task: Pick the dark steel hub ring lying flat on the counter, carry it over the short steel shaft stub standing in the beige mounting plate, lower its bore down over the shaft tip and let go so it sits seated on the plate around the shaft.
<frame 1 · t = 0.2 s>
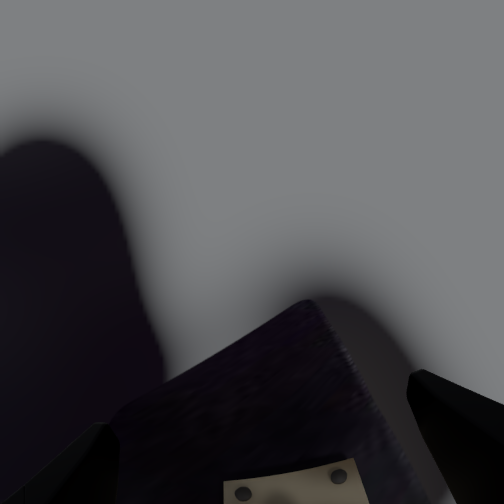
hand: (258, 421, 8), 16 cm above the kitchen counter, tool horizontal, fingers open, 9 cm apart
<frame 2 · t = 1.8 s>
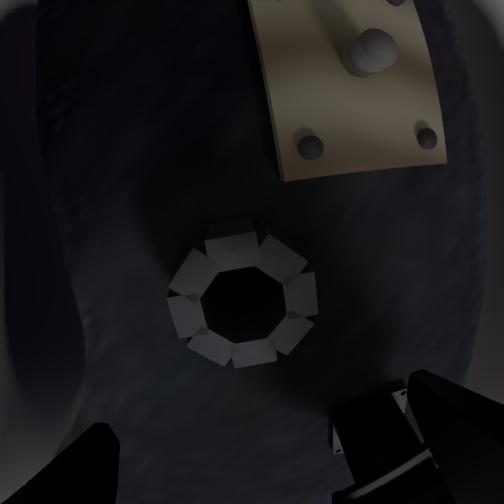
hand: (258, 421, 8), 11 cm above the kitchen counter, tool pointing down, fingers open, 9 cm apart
hub: (241, 278, 18), on the kitchen counter
beige mounting plate: (350, 66, 15), on the kitchen counter
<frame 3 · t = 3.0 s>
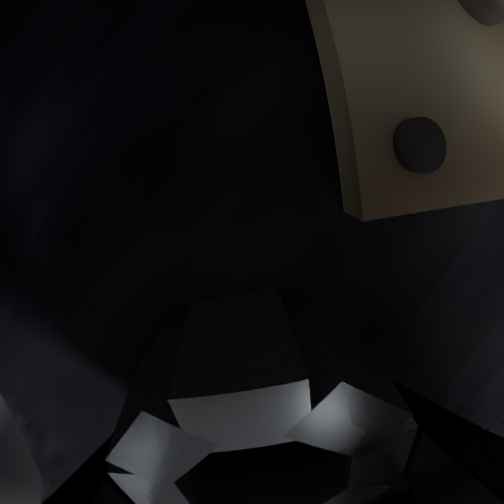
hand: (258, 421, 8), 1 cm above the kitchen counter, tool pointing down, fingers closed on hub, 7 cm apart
hub: (255, 392, 9), on the kitchen counter, touching gripper
beige mounting plate: (452, 7, 6), on the kitchen counter
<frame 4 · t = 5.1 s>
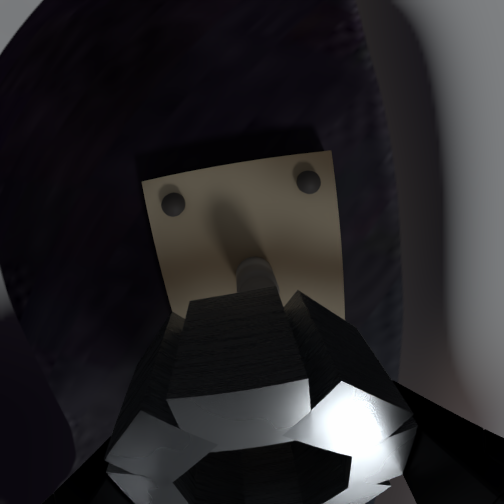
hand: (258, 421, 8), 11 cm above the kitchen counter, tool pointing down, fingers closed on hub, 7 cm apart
hub: (254, 392, 9), point 10 cm above the kitchen counter, touching gripper
beige mounting plate: (252, 266, 18), on the kitchen counter
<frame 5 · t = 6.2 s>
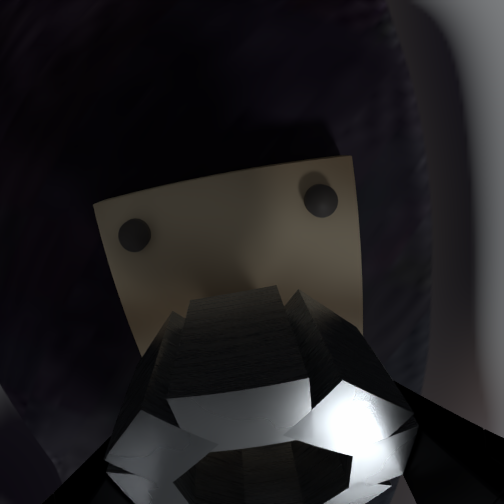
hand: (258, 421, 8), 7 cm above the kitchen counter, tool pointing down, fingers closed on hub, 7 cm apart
hub: (254, 392, 9), point 5 cm above the kitchen counter, touching gripper
beige mounting plate: (245, 309, 14), on the kitchen counter
when the fingers open (4 cm above the kitchen counter, at t = 7.3 s): hub drops 2 cm, resting on beige mounting plate.
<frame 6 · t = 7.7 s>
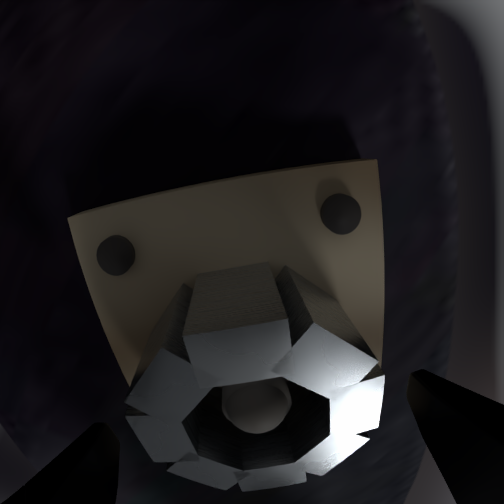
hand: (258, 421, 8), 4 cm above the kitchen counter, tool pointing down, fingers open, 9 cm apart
hub: (250, 356, 11), point 1 cm above the kitchen counter, touching beige mounting plate
beige mounting plate: (249, 337, 12), on the kitchen counter
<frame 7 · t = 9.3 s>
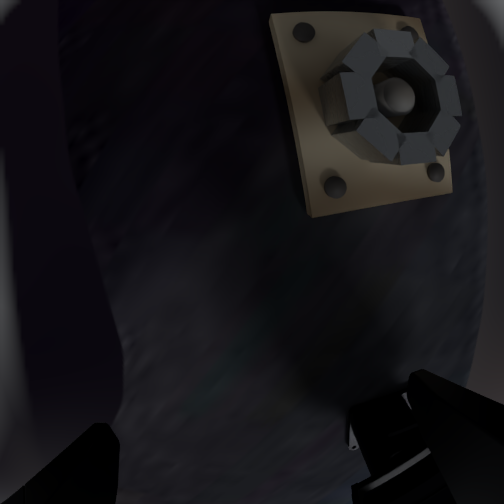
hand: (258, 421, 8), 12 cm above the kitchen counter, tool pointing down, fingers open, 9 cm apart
hub: (376, 103, 15), point 1 cm above the kitchen counter, touching beige mounting plate
beige mounting plate: (368, 105, 16), on the kitchen counter
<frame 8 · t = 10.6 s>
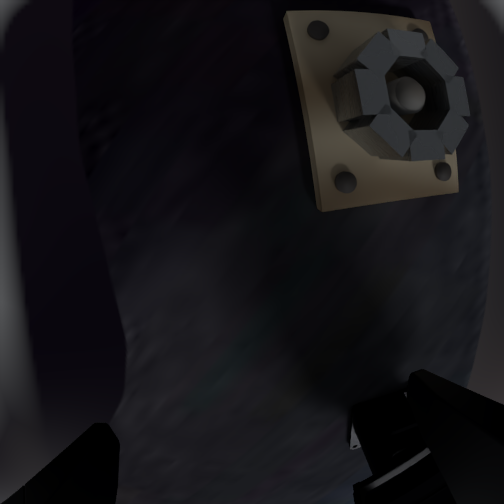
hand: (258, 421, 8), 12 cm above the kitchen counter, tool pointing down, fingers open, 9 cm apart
hub: (387, 101, 15), point 1 cm above the kitchen counter, touching beige mounting plate
beige mounting plate: (378, 103, 17), on the kitchen counter
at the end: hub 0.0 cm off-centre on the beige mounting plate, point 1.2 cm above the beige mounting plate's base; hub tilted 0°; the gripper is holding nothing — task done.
